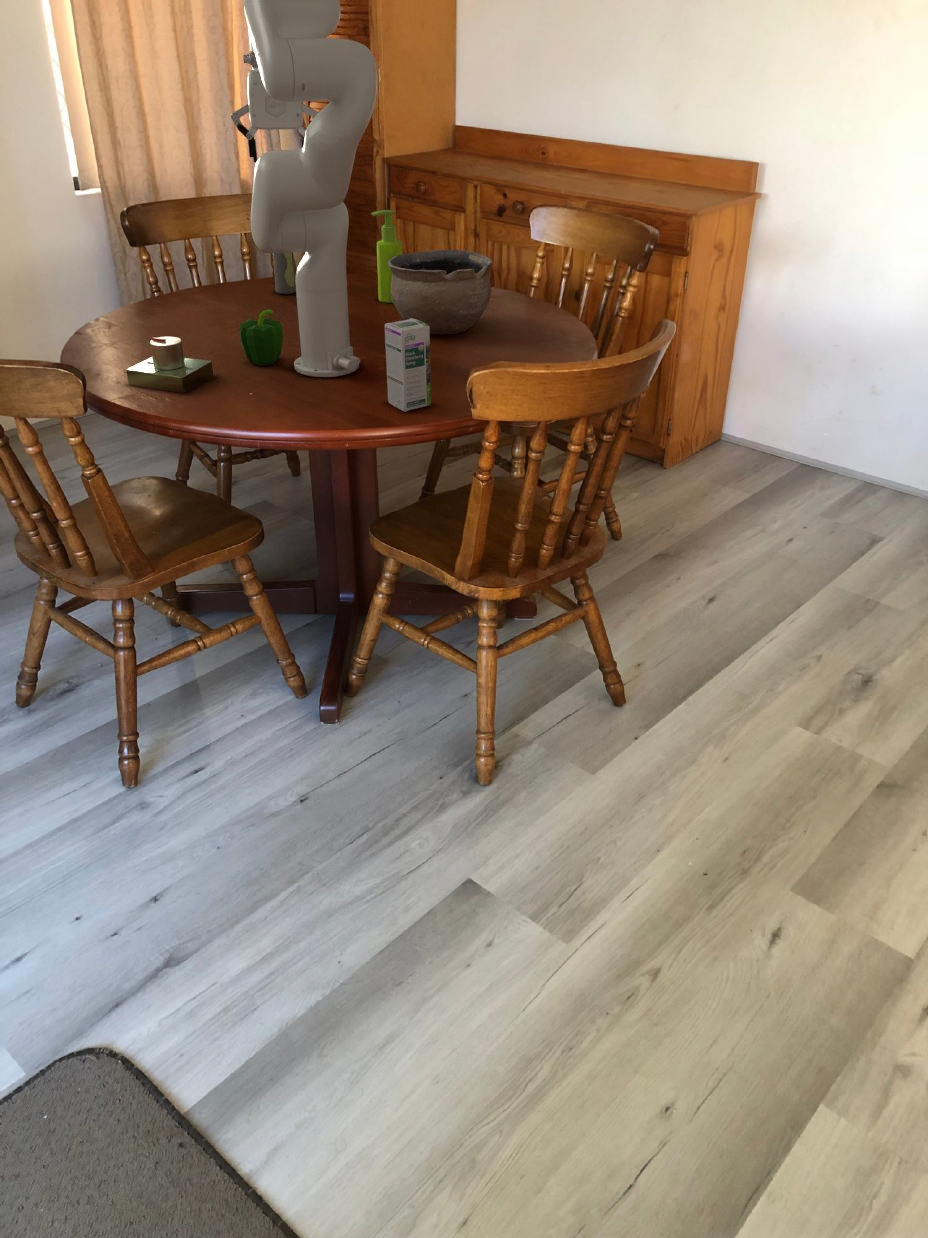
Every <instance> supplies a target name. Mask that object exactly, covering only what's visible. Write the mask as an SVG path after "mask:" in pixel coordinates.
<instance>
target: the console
mask: <svg viewBox="0 0 928 1238" xmlns="http://www.w3.org/2000/svg"><path fill="white" fill-rule="evenodd" d="M184 362H185V364H184V366H182V367H180V368H177V369H172V370H161V369H157V368H155V367H154V364H153V358H152V356H151V357H148V358H146V359H145V360H143V361H141V362H139V363H136V364H135V365H133V366H131V367H128V368H127V369H125V372H126V376H127V382H128V385H129V386H132V387H138V388H145V389H152V390H159V391H166V392H172V393H180V394H185V393H187V392H189V391H191V390H193V389H194V388H197V387H198V386H200V385H201V384H203V383H205V382H207V381H208V380H210V379H212V378H214V370H213V369H214V368H213V361H212V360H205V359H197V358H190V357H186V356H184Z"/></svg>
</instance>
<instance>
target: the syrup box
mask: <svg viewBox="0 0 928 1238" xmlns="http://www.w3.org/2000/svg"><path fill="white" fill-rule="evenodd" d="M430 335H431V334H430V332H429V325H427V324H426V323H424V322H422V321H419V320H416V319H412V318H411V319H409V320H404V319H403V320H398V321H392V322H387V323H385V324H384V344H385V361H386V363H385V364H386V384H387V402H388V404H390V405H392V406H393V407H395V408H396V409H398V410H399V411H400V410H401V411H402V412H409V411H413V410H417V409H421V408H425V407H430V406H431V405H432V391H431V390H432V387H431V386H432V384H431V337H430Z"/></svg>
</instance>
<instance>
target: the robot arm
mask: <svg viewBox="0 0 928 1238" xmlns="http://www.w3.org/2000/svg"><path fill="white" fill-rule="evenodd" d="M243 10H244V18H245V19H246V24H247V30H248V41H249V51H250V52H249V53H247V54H243V55H242V57H243V64H247V65H249V66H251V69H250V70H248V72H247V100H248V103H247V104H245V105H243V106H242V107H241V108H239V109H237V110H235V111H233V112H232V113H231V114H230V118H231V121H232V122H233V124H234V126H235V127H236V129H237V131H239V132H240V133H241V134H242V135H243V136H244V138H246V140H247V144H248V153H249V158H252V159H253V163H255V165H254V166H255V167H254V171H253V181H252V182H253V183H252V193H251V205H250V208H251V209H250V231H251V237H252V240H253V242H254V244H255V246H256V247H257V248H258V249H259V250H260V251H261V252H263V253H266V254H273V253H289V252H292V253H299V252H301V253H305V254H304V255H303V257H302V259H301V260H300V261H299V264H298V266H297V268H296V272H295V284H296V291H295V293H296V295H295V296H296V303H297V304H296V306H297V318H298V330H299V342H300V343H299V344H300V355H301V356H299V357H297V358H296V359H295V360H294V362H293V366H294V367H293V368H294V370H295V371H296V372H297V373H298V374H301V375H303V376H308V377H313V378H335V377H341V376H346V375H349V374H352V373H354V372H356V370H358V369H359V368H360V364H361V358H360V357H357V356H354V347H353V346H351V338H350V335H351V334H350V319H349V317H350V316H349V300H348V299H349V298H348V280H347V279H348V278H347V247H348V237H349V236H348V235H349V227H350V226H349V223H350V220H349V219H350V218H349V211H348V208H347V206H346V204H345V202H344V200H345V198H346V196H347V193H348V190H349V186H350V181H351V177H352V172H353V167H354V163H355V157H356V152H357V150H358V146H359V145H360V144H359V143H360V142H361V140H362V138H363V135H364V133H366V132H365V131H366V129H367V128H368V125H369V124H370V122H371V121H370V120H371V118H372V116H373V112H374V109H375V105H376V101H377V93H378V68H377V63H376V59H375V56H374V54H373V53H372V51H371V50H370V49H369V47H367V45H364V44H363V43H361V42H358V41H356V40H352V39H347V38H340V37H339V38H338V37H335V38H334V37H330V36H331V35H332V34H333V33H334V32H335V30H336V29H337V27H338V25H339V23H340V21H341V12H342V11H341V3H340V1H339V0H243ZM328 101H329V103H328V104H326V105H325V106H324V107H323V108H322V109H321V110H320V111H316V110H315V109H314V108H311V107H310V106H307V105H306V104H304V103H303V102H328ZM303 113H304V114H306V115H308V116H310V117H311V118H312V120H311V121H310V122H309V124H308V125H307V128H305V127H304V125H303V124H304V114H303ZM246 114H248V116H249V117H248V118H249V123H250V126H249V128H247V127H246V126H245V125H244V124H243V123H242V121H241V118H242V117H243V116H245V115H246ZM258 130H262V131H263V130H266V131H267V130H269V131H270V130H297V131H298V133H299V134H300V135H301V138H300V148H295V149H278V150H270V151H267V152H264V153H263V154H261V155H260V156H259V157H258V152H257V142H256V138H255V134H257V132H258Z"/></svg>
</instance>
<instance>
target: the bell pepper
mask: <svg viewBox="0 0 928 1238" xmlns="http://www.w3.org/2000/svg"><path fill="white" fill-rule="evenodd" d="M272 314H273V310H272V309H265V310H262V311H261V312H260V313H259V314H258V319H257V320H255V319H253V318H247V319H246V320H245V321H244V322H243V323H240V325H239V328H238V333H239V340H240V344H241V346H242V350H243V352H244V355H245V358H246V359H247V360H248V362H249V363H253V364H255V365H257V366H271V365H274V364H275V363H276V362H277V361H278V360H279V359H280V357H281V356H282V355H281V354H282V350H283V349H282V348H283V340H284V329H283V326H282V323H281V321H280V320H274V319H273V318H272V317H267V318H265V317H266V316H267V315H269V316H271V315H272Z"/></svg>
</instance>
